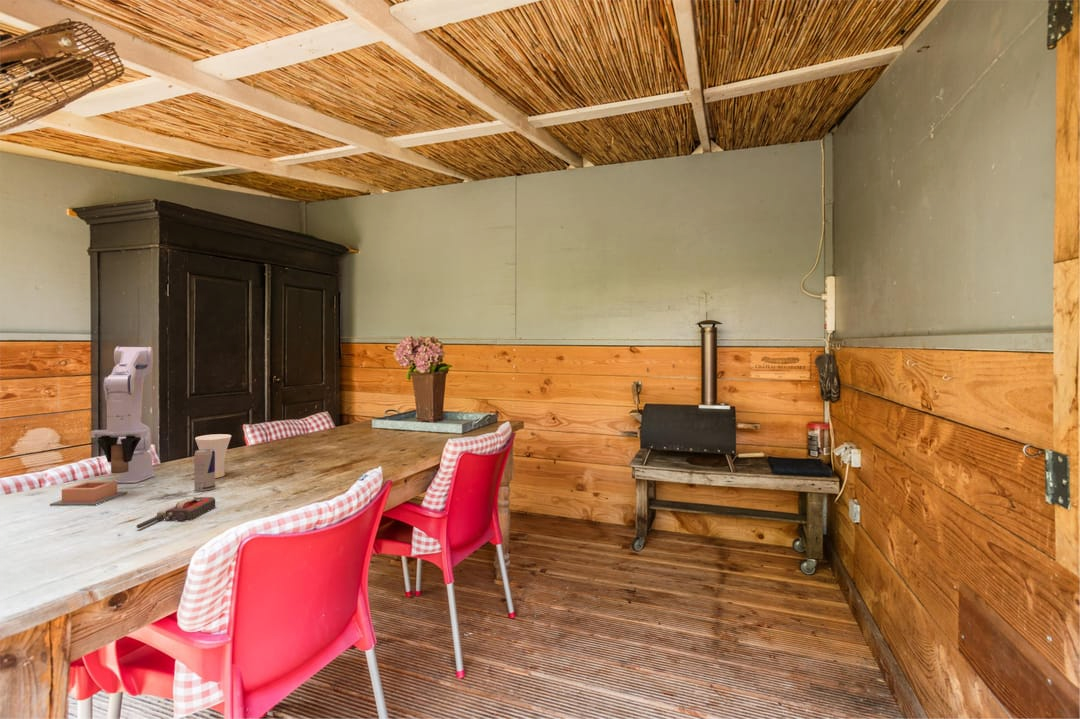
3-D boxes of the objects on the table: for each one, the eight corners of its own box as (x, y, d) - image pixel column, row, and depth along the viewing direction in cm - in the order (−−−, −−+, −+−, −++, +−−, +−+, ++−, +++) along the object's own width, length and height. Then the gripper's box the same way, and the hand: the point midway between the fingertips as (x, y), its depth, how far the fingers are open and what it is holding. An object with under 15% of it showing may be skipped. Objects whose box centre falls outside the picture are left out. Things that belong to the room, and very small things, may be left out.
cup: (205, 472, 181) (205, 434, 181) (237, 472, 182) (237, 434, 182) (188, 480, 171) (188, 439, 170) (222, 480, 172) (222, 439, 171)
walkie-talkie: (188, 506, 145) (133, 532, 125) (188, 491, 145) (132, 514, 125) (220, 507, 145) (169, 532, 125) (219, 491, 145) (169, 514, 125)
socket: (85, 493, 155) (85, 480, 154) (127, 493, 155) (127, 479, 155) (49, 505, 143) (49, 491, 143) (96, 505, 143) (95, 491, 143)
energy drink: (219, 487, 163) (219, 449, 163) (206, 492, 158) (206, 452, 158) (203, 486, 164) (203, 448, 163) (190, 491, 158) (190, 452, 158)
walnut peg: (117, 470, 155) (117, 443, 155) (131, 470, 155) (131, 443, 155) (107, 473, 151) (107, 446, 151) (122, 473, 151) (121, 446, 151)
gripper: (82, 417, 148) (82, 464, 149) (136, 417, 149) (136, 464, 150) (101, 414, 155) (101, 459, 156) (152, 414, 157) (152, 459, 157)
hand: (119, 461), depth 153 cm, fingers closed on walnut peg, 4 cm apart
